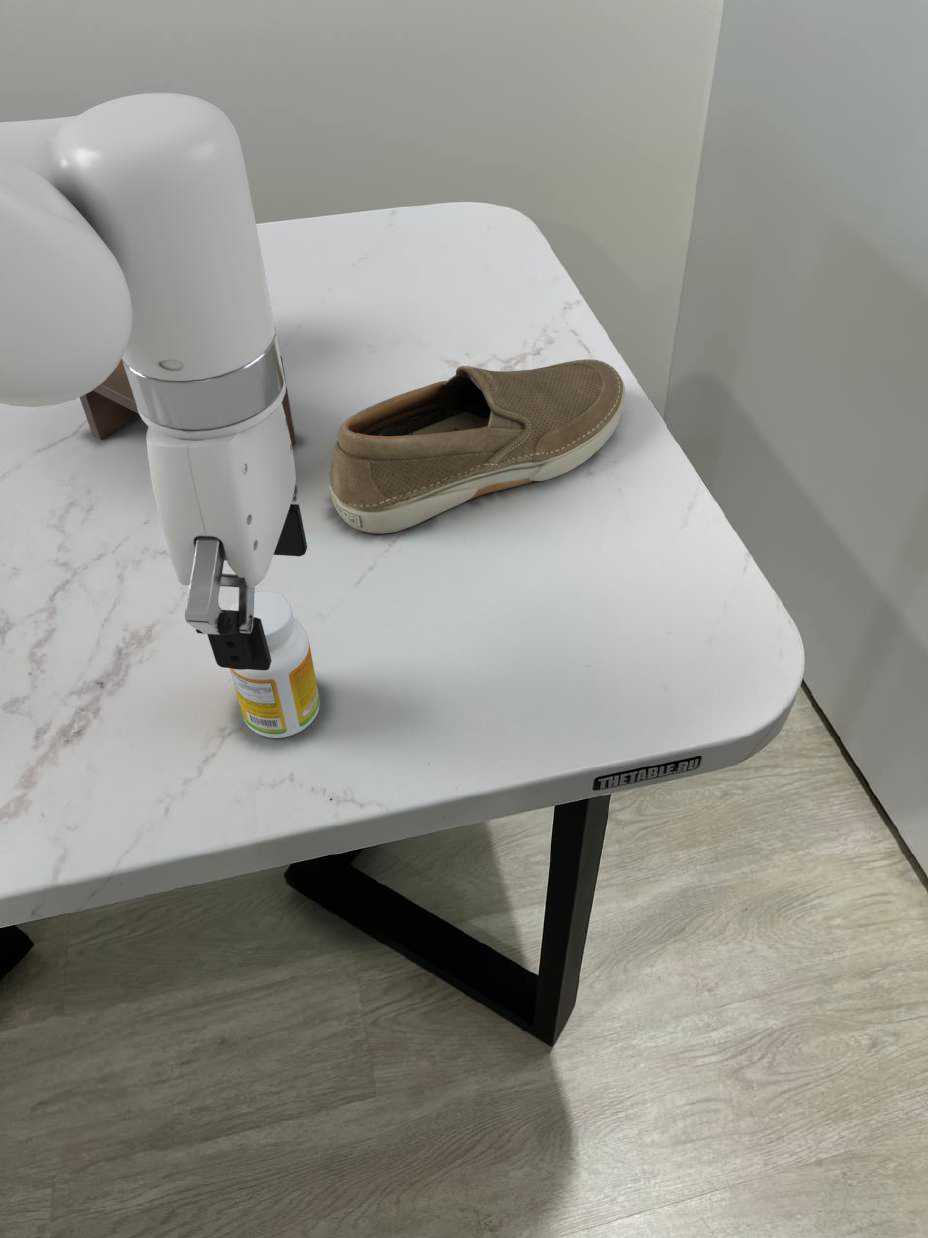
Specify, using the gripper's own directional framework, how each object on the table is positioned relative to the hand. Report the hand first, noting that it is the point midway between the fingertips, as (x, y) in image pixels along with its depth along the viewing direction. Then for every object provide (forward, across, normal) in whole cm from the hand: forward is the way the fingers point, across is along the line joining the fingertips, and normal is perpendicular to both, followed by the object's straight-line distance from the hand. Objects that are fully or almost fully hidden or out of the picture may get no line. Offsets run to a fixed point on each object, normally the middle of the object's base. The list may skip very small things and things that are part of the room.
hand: (265, 605), depth 63 cm
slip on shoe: (+11, -29, +11) cm, 33 cm away
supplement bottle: (+10, 0, 0) cm, 10 cm away
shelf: (+10, -29, -16) cm, 35 cm away
